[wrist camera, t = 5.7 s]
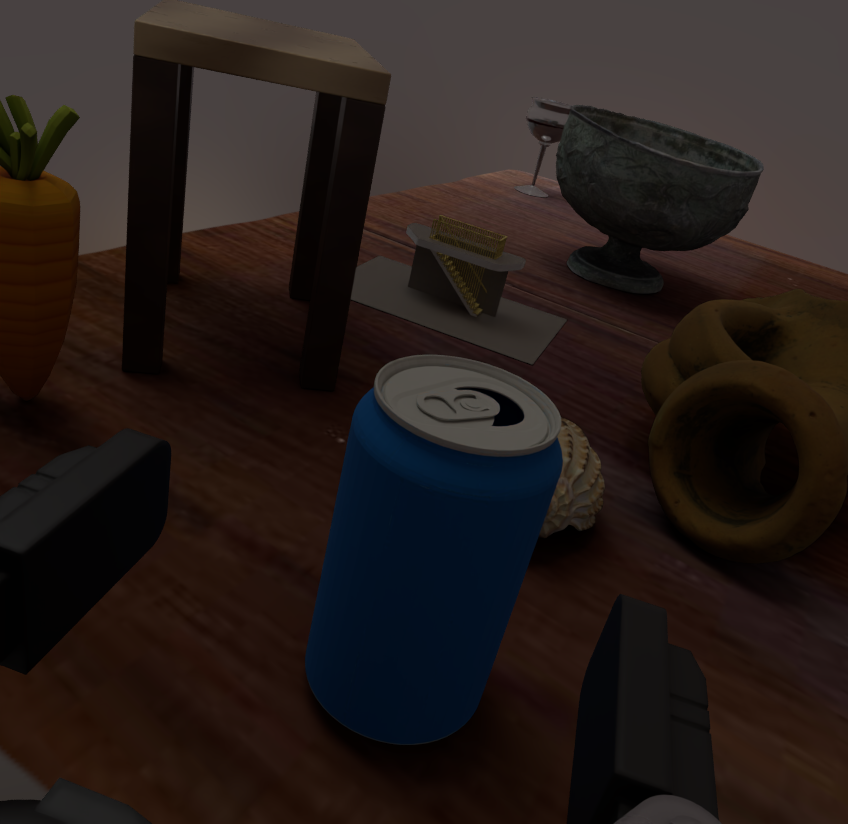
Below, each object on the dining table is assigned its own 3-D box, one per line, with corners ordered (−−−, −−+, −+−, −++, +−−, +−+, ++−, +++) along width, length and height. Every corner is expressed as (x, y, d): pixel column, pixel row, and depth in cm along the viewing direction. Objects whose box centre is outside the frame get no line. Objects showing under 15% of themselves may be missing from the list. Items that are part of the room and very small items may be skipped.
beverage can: (510, 729, 28) (620, 448, 22) (344, 784, 25) (425, 471, 19) (425, 605, 33) (499, 346, 27) (276, 637, 29) (325, 350, 24)
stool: (121, 371, 44) (134, 19, 36) (150, 269, 58) (165, -3, 49) (334, 391, 47) (391, 74, 39) (314, 291, 61) (354, 39, 52)
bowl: (642, 327, 70) (706, 157, 63) (490, 249, 82) (530, 97, 74) (745, 307, 83) (807, 164, 76) (601, 242, 94) (644, 112, 87)
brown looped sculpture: (1031, 416, 48) (951, 432, 32) (860, 543, 54) (723, 607, 39) (809, 226, 56) (660, 164, 41) (685, 356, 63) (515, 346, 47)
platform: (532, 364, 57) (558, 280, 54) (316, 286, 62) (329, 204, 59) (567, 319, 68) (591, 246, 64) (379, 255, 72) (393, 184, 69)
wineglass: (545, 201, 108) (571, 110, 102) (500, 186, 110) (523, 97, 104) (560, 196, 113) (586, 109, 108) (518, 182, 116) (541, 96, 110)
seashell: (426, 505, 44) (496, 552, 34) (435, 398, 44) (509, 416, 34) (551, 509, 46) (648, 554, 37) (561, 407, 46) (662, 426, 36)
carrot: (99, 391, 42) (105, 94, 35) (43, 435, 37) (37, 106, 30) (11, 367, 42) (0, 67, 35) (-55, 407, 38) (-83, 74, 31)
